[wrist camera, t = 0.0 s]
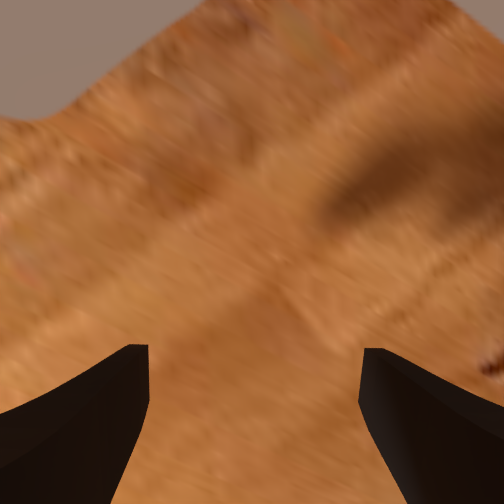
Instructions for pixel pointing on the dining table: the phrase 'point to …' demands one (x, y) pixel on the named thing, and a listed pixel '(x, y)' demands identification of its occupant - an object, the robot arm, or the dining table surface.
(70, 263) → the dining table surface
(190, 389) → the dining table surface
